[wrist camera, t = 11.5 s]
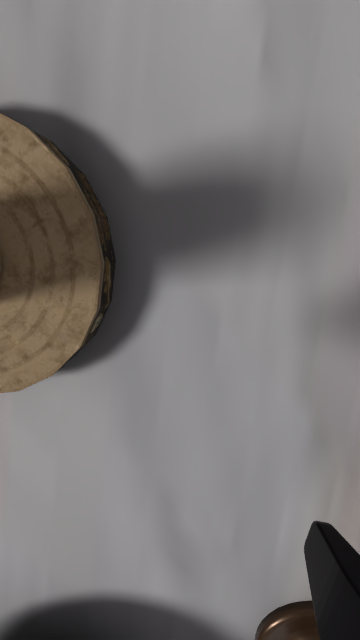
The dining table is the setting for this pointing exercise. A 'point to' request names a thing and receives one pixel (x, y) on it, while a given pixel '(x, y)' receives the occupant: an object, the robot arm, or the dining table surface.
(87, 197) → the ringed beige coaster
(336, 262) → the dining table surface
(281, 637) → the candlestick
